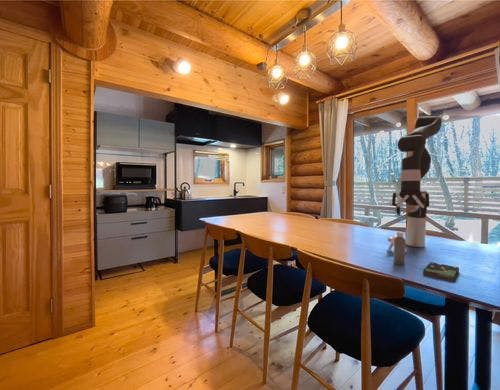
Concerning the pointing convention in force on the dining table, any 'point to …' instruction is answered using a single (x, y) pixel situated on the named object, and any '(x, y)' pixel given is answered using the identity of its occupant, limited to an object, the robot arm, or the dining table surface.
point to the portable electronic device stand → (392, 243)
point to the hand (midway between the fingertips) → (409, 215)
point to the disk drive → (441, 271)
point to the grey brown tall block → (399, 250)
